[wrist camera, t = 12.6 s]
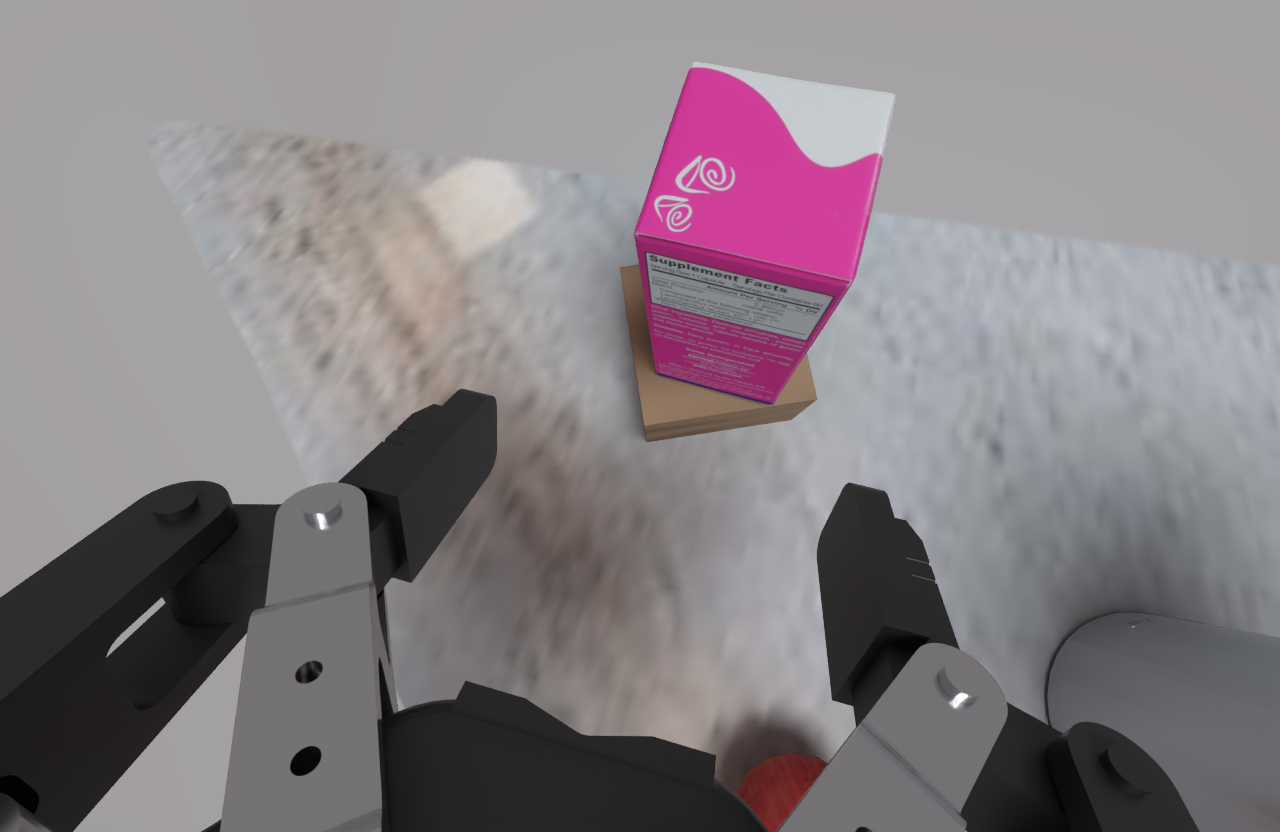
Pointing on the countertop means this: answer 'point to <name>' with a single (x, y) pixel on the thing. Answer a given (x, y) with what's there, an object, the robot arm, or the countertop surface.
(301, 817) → the robot arm
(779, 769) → the pomegranate
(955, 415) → the countertop surface
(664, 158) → the supplement box
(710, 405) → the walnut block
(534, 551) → the countertop surface
